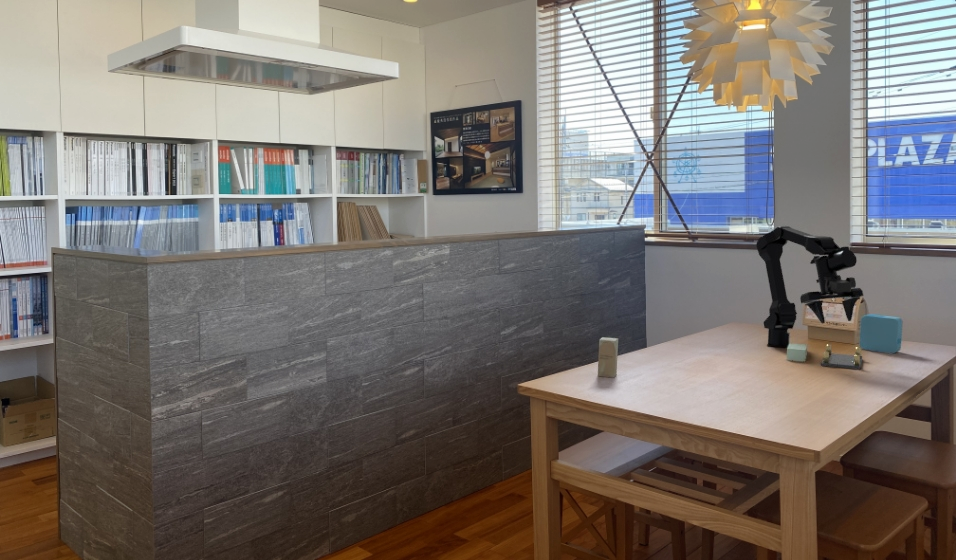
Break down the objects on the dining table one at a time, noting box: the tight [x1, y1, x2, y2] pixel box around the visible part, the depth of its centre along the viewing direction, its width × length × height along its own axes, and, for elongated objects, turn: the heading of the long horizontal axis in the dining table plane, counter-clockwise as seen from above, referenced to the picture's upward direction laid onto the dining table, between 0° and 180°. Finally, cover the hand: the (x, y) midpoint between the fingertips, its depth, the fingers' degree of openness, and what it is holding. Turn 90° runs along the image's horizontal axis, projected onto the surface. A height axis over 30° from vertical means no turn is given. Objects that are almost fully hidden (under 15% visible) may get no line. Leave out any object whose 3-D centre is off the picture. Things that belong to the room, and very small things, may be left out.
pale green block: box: [786, 342, 808, 362], centre depth 252 cm, size 6×10×4 cm, turn 154°
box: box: [597, 336, 619, 378], centre depth 227 cm, size 5×4×11 cm
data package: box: [858, 313, 904, 355], centre depth 264 cm, size 12×4×12 cm, turn 44°
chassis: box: [820, 344, 863, 371], centre depth 246 cm, size 11×17×4 cm, turn 152°
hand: (836, 322), depth 246 cm, fingers open, 9 cm apart
